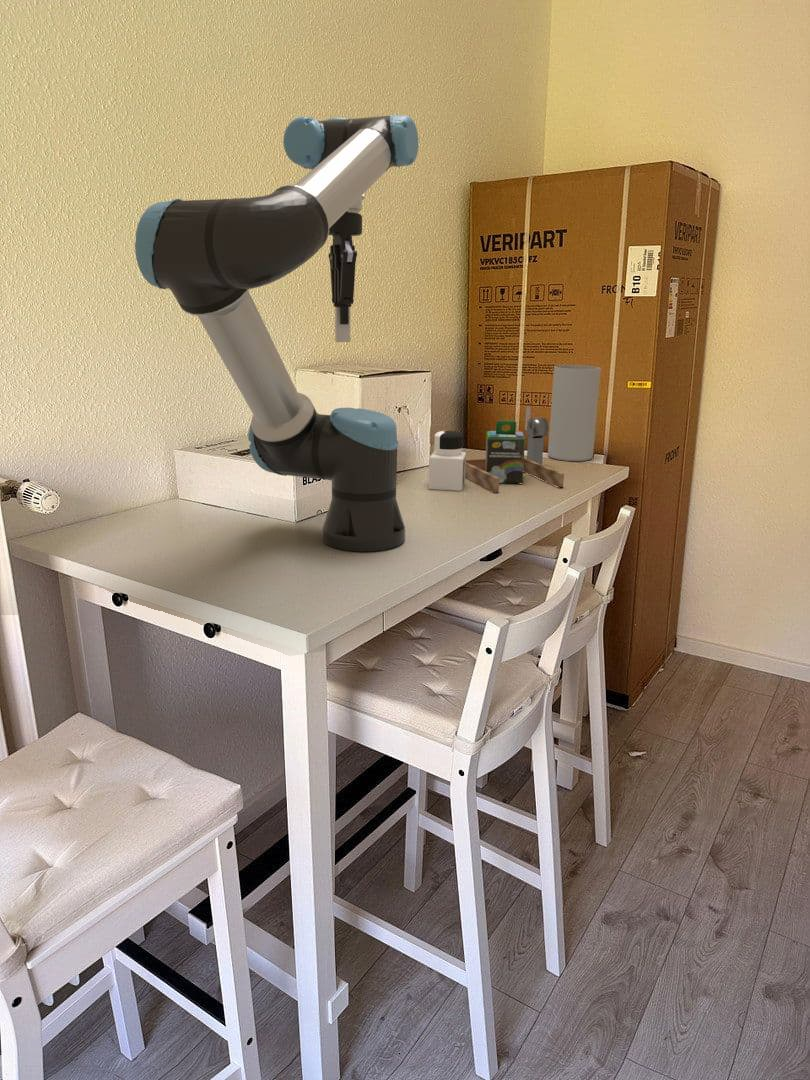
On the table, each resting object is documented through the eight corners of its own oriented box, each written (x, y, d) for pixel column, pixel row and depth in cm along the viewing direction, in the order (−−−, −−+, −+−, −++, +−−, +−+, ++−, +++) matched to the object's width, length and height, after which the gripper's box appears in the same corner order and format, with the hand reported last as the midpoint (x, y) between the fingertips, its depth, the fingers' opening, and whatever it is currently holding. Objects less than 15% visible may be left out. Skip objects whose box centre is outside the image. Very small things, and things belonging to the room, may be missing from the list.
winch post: (545, 468, 205) (549, 407, 200) (527, 469, 203) (531, 408, 198) (535, 464, 209) (540, 404, 205) (518, 465, 208) (522, 405, 203)
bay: (562, 488, 184) (564, 473, 183) (494, 493, 178) (495, 478, 177) (520, 469, 203) (521, 456, 202) (457, 473, 197) (458, 460, 196)
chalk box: (520, 476, 196) (524, 417, 191) (523, 485, 187) (527, 423, 182) (483, 475, 196) (486, 416, 192) (484, 483, 187) (487, 422, 183)
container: (465, 483, 187) (467, 430, 183) (461, 491, 179) (463, 435, 176) (433, 482, 188) (434, 428, 184) (428, 489, 181) (429, 433, 177)
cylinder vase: (543, 452, 225) (549, 364, 218) (585, 453, 226) (593, 365, 219) (553, 461, 214) (560, 369, 206) (598, 462, 214) (607, 369, 207)
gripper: (370, 210, 141) (369, 343, 148) (353, 216, 153) (353, 340, 160) (330, 208, 139) (331, 343, 146) (315, 214, 151) (317, 339, 158)
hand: (342, 341), depth 153 cm, fingers closed
